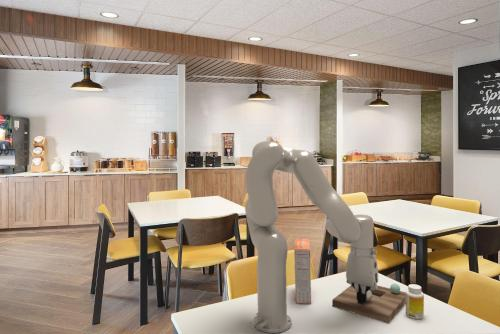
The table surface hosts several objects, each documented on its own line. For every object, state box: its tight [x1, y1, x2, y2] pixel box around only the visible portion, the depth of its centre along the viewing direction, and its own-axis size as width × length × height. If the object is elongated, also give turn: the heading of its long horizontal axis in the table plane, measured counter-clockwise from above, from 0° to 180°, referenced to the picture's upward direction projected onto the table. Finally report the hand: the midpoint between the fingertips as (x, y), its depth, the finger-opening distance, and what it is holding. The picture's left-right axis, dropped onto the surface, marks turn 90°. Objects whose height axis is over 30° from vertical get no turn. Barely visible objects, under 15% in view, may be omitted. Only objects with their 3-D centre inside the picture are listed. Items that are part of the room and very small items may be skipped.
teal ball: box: [389, 283, 401, 293], centre depth 133 cm, size 4×4×4 cm
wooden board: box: [331, 284, 406, 324], centre depth 131 cm, size 22×20×2 cm
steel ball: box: [366, 290, 372, 302], centre depth 127 cm, size 4×4×4 cm
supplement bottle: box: [405, 283, 425, 320], centre depth 120 cm, size 6×6×10 cm
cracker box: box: [293, 238, 312, 305], centre depth 137 cm, size 14×6×21 cm, turn 172°
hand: (361, 302), depth 124 cm, fingers closed
